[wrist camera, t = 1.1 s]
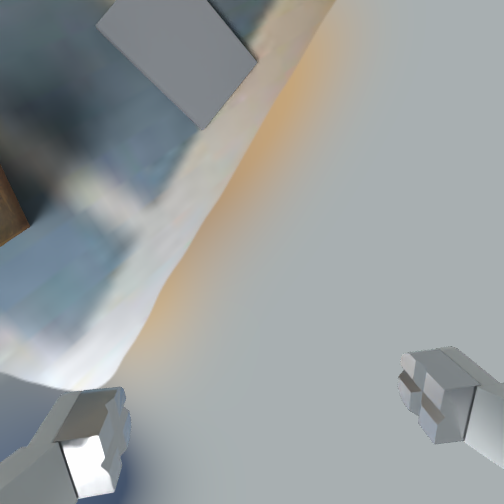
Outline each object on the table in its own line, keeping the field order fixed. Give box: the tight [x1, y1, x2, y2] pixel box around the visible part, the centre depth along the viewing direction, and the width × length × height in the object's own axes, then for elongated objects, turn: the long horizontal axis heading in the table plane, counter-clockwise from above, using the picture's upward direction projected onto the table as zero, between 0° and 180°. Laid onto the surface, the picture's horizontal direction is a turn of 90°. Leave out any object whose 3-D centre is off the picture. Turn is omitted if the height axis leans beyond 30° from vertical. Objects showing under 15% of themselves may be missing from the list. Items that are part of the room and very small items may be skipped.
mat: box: [96, 0, 257, 130], centre depth 39 cm, size 16×12×1 cm
